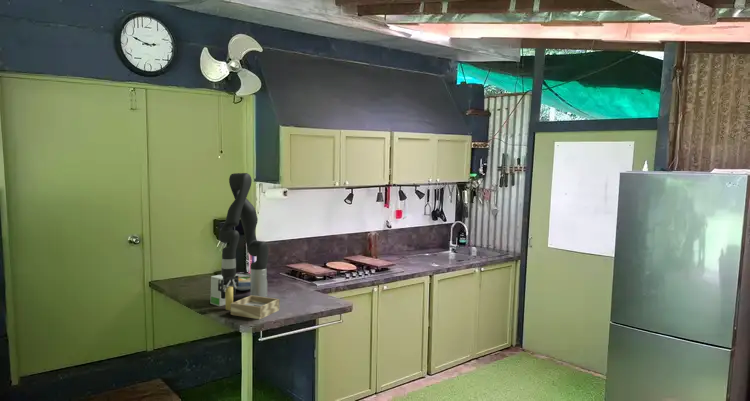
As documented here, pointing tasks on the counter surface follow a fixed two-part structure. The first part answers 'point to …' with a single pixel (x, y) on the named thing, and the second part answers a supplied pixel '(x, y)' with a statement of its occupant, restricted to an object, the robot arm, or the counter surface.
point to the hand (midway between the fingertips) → (228, 296)
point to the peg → (228, 297)
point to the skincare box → (216, 291)
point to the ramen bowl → (243, 282)
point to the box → (255, 307)
